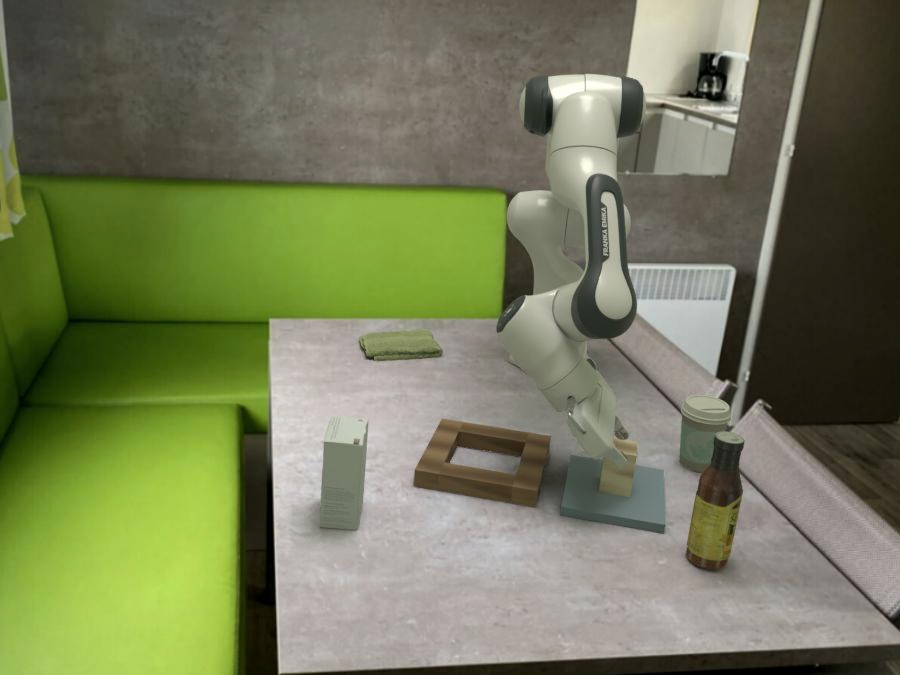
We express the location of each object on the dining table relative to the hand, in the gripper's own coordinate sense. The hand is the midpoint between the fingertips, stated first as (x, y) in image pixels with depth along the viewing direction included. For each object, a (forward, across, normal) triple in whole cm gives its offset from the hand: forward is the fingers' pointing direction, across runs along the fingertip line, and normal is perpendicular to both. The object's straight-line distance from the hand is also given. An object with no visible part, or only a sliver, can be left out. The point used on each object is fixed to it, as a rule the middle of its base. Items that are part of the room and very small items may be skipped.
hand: (624, 450), depth 140 cm
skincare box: (-23, -20, +35) cm, 46 cm away
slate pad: (+6, 0, +6) cm, 8 cm away
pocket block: (-10, +2, +22) cm, 24 cm away
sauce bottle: (+15, -14, -3) cm, 21 cm away
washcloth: (-29, +50, +42) cm, 72 cm away
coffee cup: (+15, +16, -3) cm, 22 cm away
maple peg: (+4, 0, +5) cm, 7 cm away
